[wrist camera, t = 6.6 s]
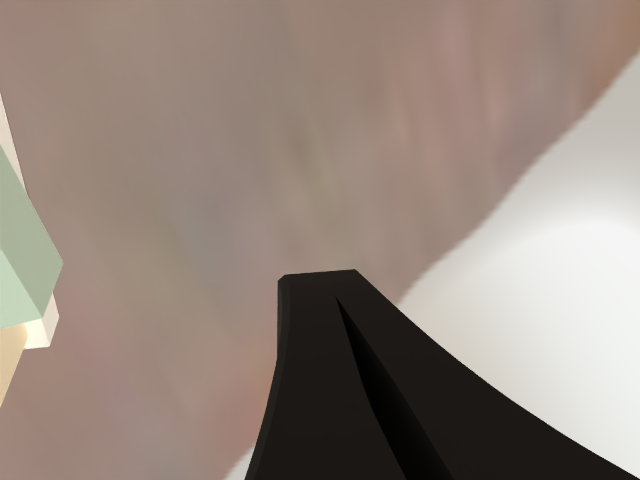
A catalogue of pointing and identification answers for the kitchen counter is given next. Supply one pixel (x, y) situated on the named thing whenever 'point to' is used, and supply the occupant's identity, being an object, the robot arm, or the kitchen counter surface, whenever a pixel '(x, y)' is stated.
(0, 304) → the hinged leg
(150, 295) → the kitchen counter surface
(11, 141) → the stool seat
